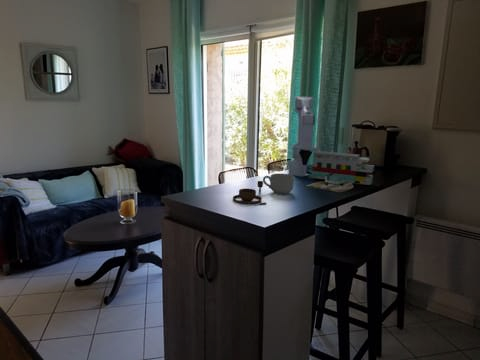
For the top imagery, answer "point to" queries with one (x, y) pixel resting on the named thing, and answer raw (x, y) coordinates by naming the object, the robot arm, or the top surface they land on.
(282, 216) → the top surface
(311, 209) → the top surface
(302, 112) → the robot arm
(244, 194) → the place setting
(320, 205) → the top surface
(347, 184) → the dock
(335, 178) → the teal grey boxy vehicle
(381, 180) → the top surface
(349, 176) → the toy vehicle
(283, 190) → the teacup
